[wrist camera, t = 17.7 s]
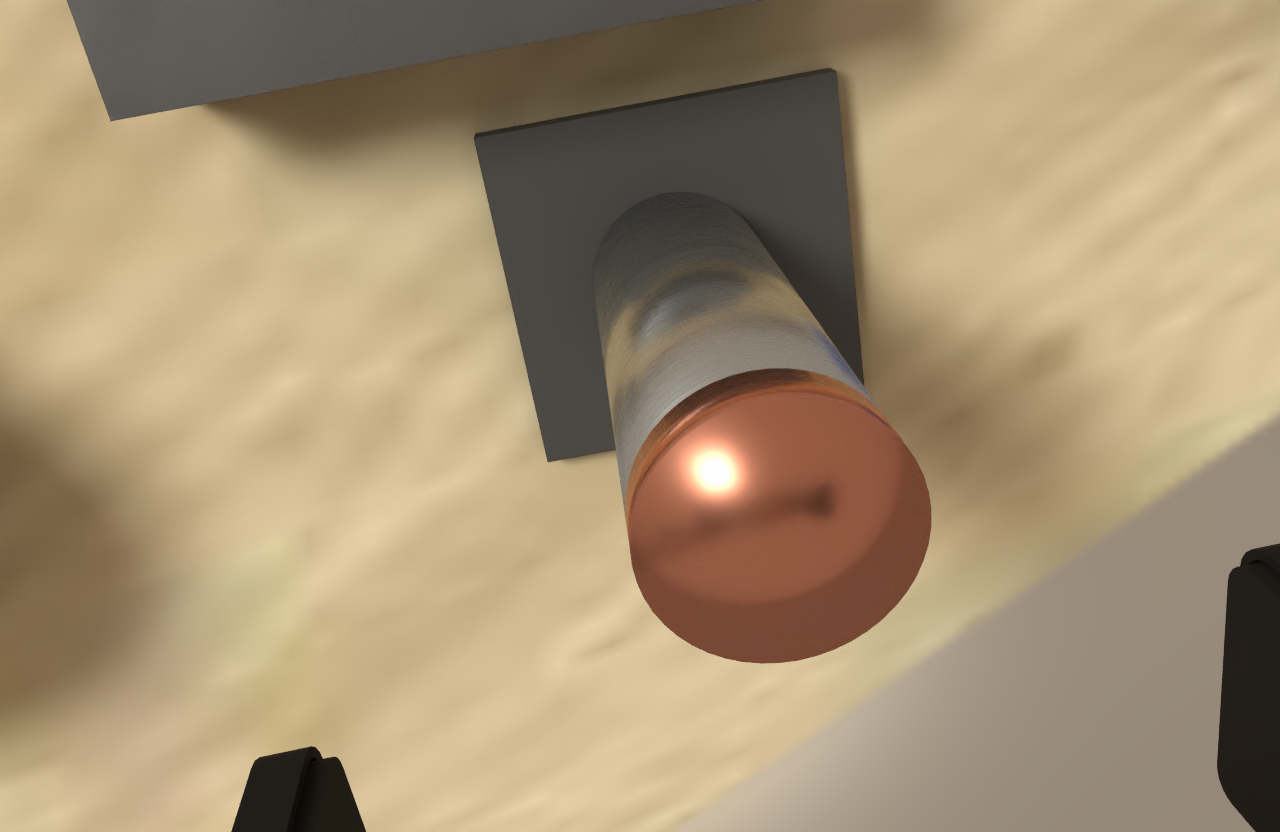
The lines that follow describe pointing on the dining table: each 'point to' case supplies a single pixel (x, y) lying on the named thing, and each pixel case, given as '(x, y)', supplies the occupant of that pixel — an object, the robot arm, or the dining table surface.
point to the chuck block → (314, 40)
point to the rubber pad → (651, 165)
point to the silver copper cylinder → (746, 444)
